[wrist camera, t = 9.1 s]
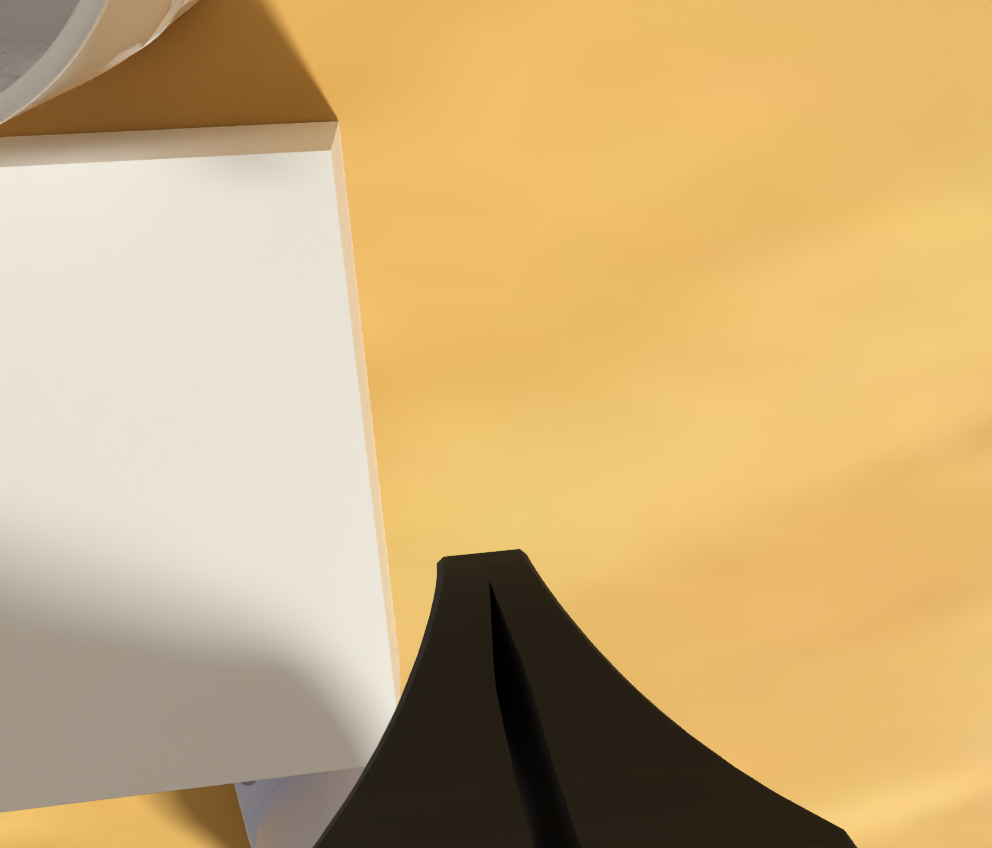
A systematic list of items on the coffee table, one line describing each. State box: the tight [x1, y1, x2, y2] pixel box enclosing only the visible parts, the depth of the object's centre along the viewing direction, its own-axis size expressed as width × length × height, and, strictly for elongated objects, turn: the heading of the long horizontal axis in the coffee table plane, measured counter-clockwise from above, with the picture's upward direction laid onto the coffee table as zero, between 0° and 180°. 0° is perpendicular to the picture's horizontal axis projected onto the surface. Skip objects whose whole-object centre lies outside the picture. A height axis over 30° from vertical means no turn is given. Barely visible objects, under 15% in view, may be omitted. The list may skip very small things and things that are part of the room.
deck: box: [0, 121, 401, 812], centre depth 21 cm, size 17×12×4 cm
